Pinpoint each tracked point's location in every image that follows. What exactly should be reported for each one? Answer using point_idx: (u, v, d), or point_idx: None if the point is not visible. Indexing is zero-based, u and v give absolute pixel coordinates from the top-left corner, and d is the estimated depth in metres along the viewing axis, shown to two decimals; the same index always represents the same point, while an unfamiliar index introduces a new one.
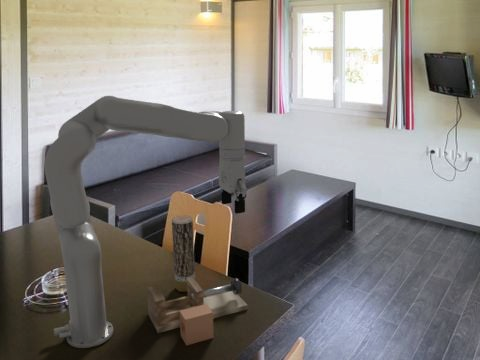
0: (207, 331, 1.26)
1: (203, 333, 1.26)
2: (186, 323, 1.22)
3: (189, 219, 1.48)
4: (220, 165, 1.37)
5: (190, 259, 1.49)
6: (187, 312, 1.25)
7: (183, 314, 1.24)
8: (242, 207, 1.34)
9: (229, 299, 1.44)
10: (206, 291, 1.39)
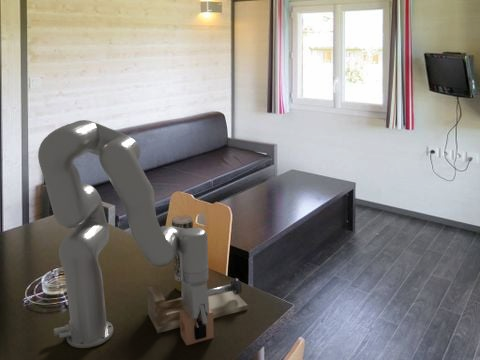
0: (207, 331, 1.26)
1: None
2: (186, 323, 1.22)
3: (189, 219, 1.48)
4: (182, 284, 1.25)
5: None
6: None
7: (183, 314, 1.24)
8: (203, 333, 1.24)
9: (229, 299, 1.44)
10: None
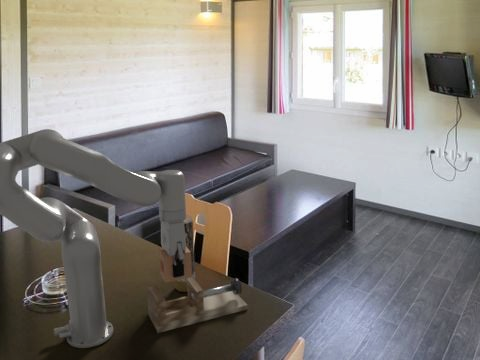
0: (185, 270, 1.32)
1: None
2: (165, 260, 1.29)
3: (189, 219, 1.48)
4: (161, 225, 1.31)
5: None
6: None
7: (162, 253, 1.31)
8: (180, 271, 1.30)
9: (229, 299, 1.44)
10: (206, 291, 1.39)
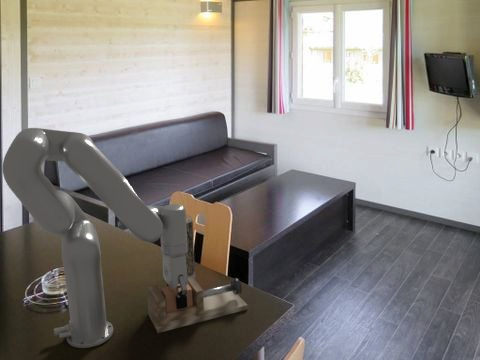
0: (187, 307, 1.36)
1: (182, 308, 1.35)
2: (167, 298, 1.32)
3: (189, 219, 1.48)
4: (163, 257, 1.34)
5: (190, 259, 1.49)
6: (167, 289, 1.34)
7: (164, 290, 1.34)
8: (183, 303, 1.31)
9: (229, 299, 1.44)
10: (206, 291, 1.39)
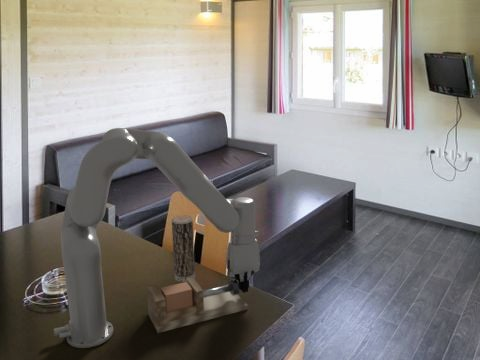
0: (187, 307, 1.36)
1: (182, 308, 1.35)
2: (167, 298, 1.32)
3: (189, 219, 1.48)
4: None
5: (190, 259, 1.49)
6: (167, 289, 1.34)
7: (164, 290, 1.34)
8: (240, 286, 1.44)
9: (229, 299, 1.44)
10: (203, 292, 1.39)
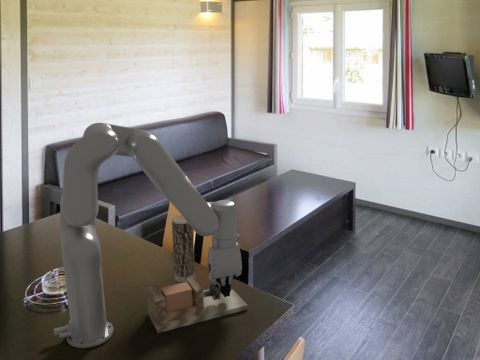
0: (187, 307, 1.36)
1: (182, 308, 1.35)
2: (167, 298, 1.32)
3: None
4: None
5: (190, 259, 1.49)
6: (167, 289, 1.34)
7: (164, 290, 1.34)
8: (221, 291, 1.42)
9: (229, 299, 1.44)
10: None
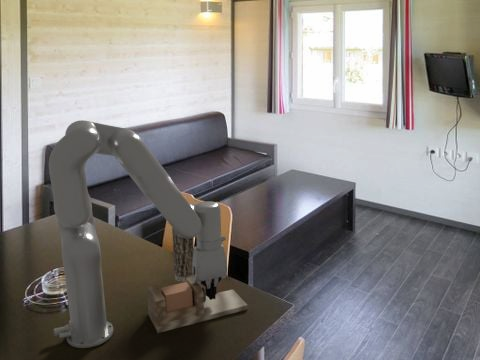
0: (187, 307, 1.36)
1: (182, 308, 1.35)
2: (167, 298, 1.32)
3: None
4: None
5: (190, 259, 1.49)
6: (167, 289, 1.34)
7: (164, 290, 1.34)
8: (207, 293, 1.40)
9: (229, 299, 1.44)
10: None
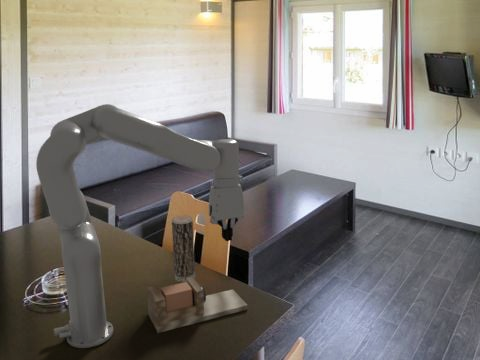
0: (187, 307, 1.36)
1: (182, 308, 1.35)
2: (167, 298, 1.32)
3: (189, 219, 1.48)
4: None
5: (190, 259, 1.49)
6: (167, 289, 1.34)
7: (164, 290, 1.34)
8: (223, 235, 1.37)
9: (229, 299, 1.44)
10: None
